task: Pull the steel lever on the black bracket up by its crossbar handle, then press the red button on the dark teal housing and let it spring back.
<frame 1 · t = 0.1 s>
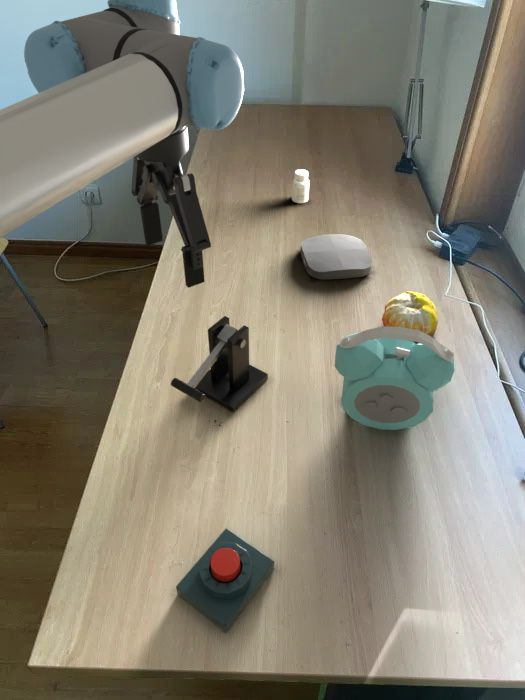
hand: (173, 262, 86), 23 cm above the table, tool pointing down, fingers open, 13 cm apart
media streaming box: (334, 262, 128), on the table
alarm clock: (380, 416, 94), on the table
button box: (226, 581, 73), on the table
lever: (210, 361, 90), point 9 cm above the table, hinge at -20.0°
bracket: (230, 384, 99), on the table
pill bottle: (299, 200, 149), on the table
button: (225, 564, 70), point 4 cm above the table, slide at 0.1 cm
fruit: (407, 328, 111), on the table
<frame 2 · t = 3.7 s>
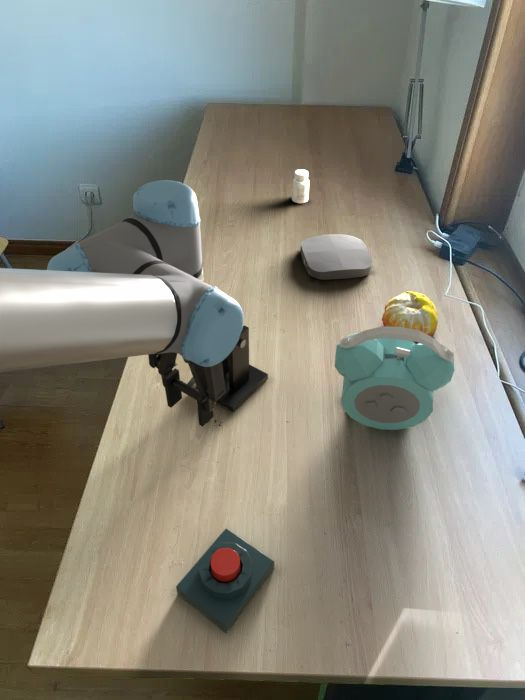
hand: (190, 411, 91), 2 cm above the table, tool pointing down, fingers closed on lever, 6 cm apart
lever: (210, 361, 90), point 9 cm above the table, hinge at -20.0°, touching gripper
everything else where it was.
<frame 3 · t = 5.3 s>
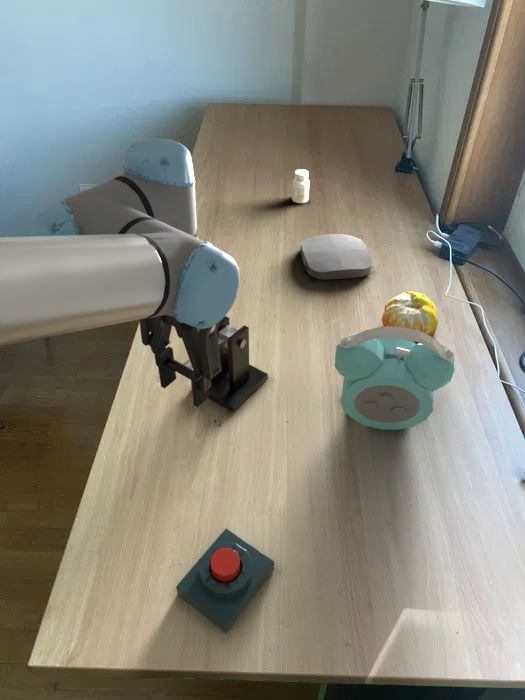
hand: (184, 391, 87), 7 cm above the table, tool pointing down, fingers closed on lever, 6 cm apart
lever: (208, 351, 88), point 12 cm above the table, hinge at 5.9°, touching gripper
everything else where it was.
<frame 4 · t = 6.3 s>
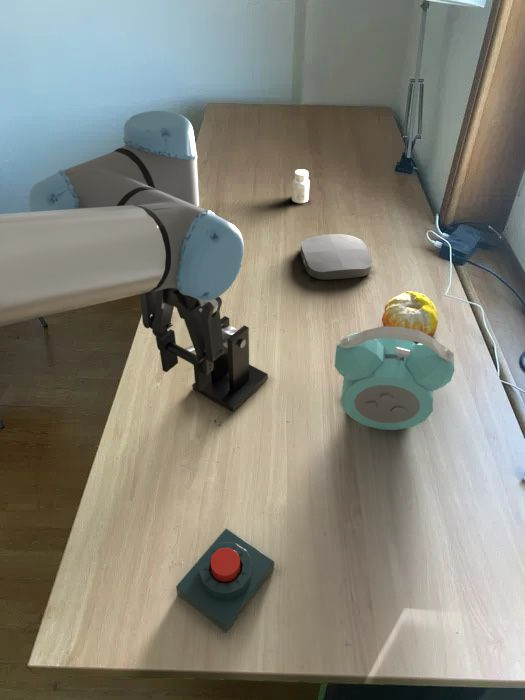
hand: (186, 375, 86), 10 cm above the table, tool pointing down, fingers closed on lever, 6 cm apart
lever: (208, 344, 87), point 13 cm above the table, hinge at 20.5°, touching gripper
everything else where it was.
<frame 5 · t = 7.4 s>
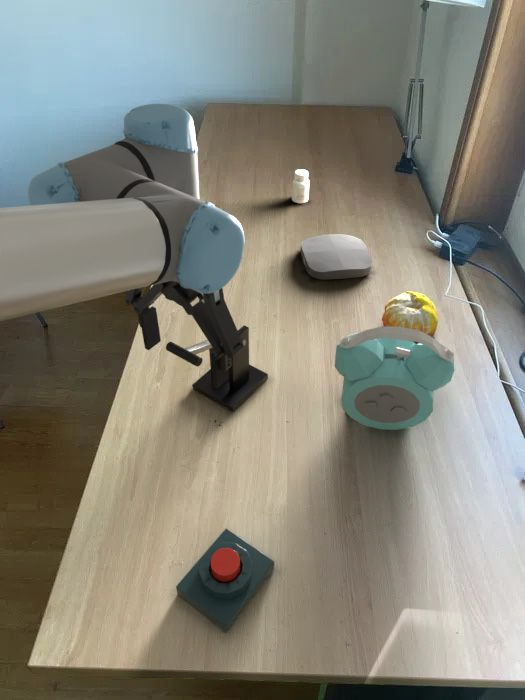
hand: (185, 363, 84), 13 cm above the table, tool pointing down, fingers open, 13 cm apart
lever: (208, 344, 87), point 13 cm above the table, hinge at 20.5°
everything else where it was.
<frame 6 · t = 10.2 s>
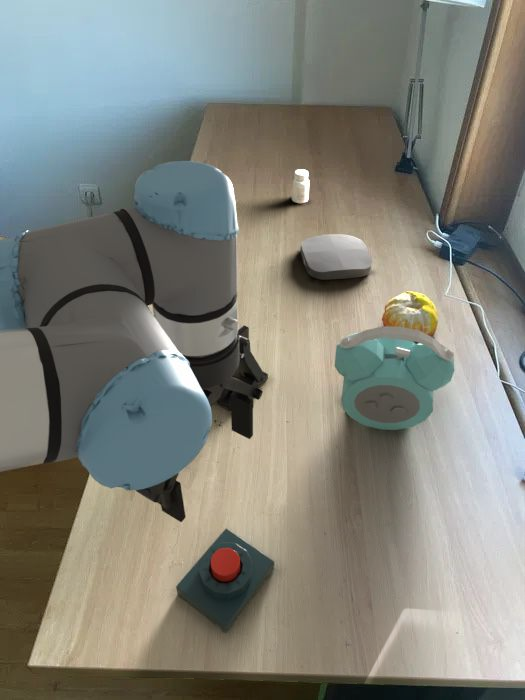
hand: (210, 471, 66), 16 cm above the table, tool pointing down, fingers open, 13 cm apart
nothing on the table moved.
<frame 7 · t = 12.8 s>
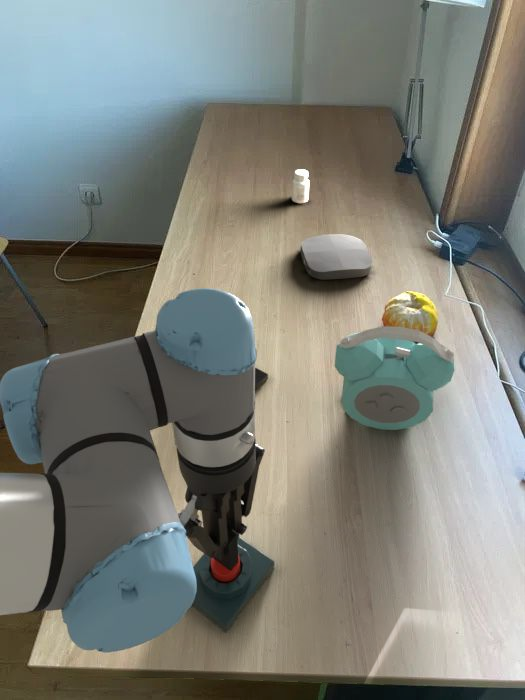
hand: (226, 560, 69), 6 cm above the table, tool pointing down, fingers closed
button: (225, 564, 70), point 4 cm above the table, slide at 0.1 cm, touching gripper
everything else where it was.
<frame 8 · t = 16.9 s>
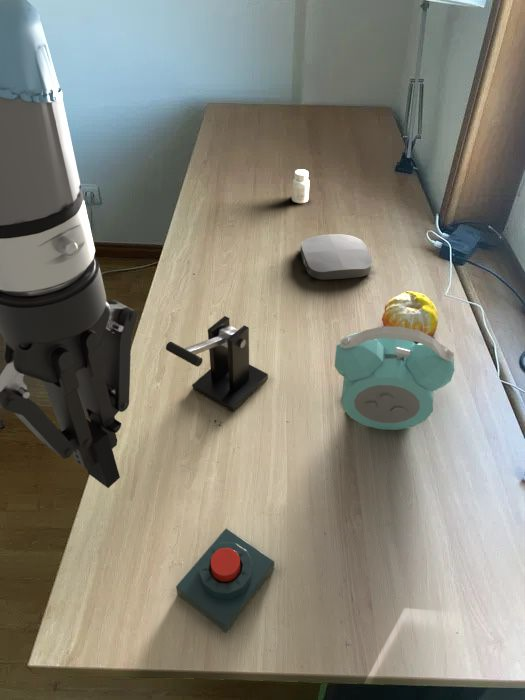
hand: (104, 475, 53), 26 cm above the table, tool pointing down, fingers closed
button: (225, 564, 70), point 4 cm above the table, slide at 0.1 cm
everything else where it was.
at the end: lever at +20° (first picture: -20°); button pushed in 1.0 cm at the most during the clip, back to where it started at the end; button slide at 0.1 cm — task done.
